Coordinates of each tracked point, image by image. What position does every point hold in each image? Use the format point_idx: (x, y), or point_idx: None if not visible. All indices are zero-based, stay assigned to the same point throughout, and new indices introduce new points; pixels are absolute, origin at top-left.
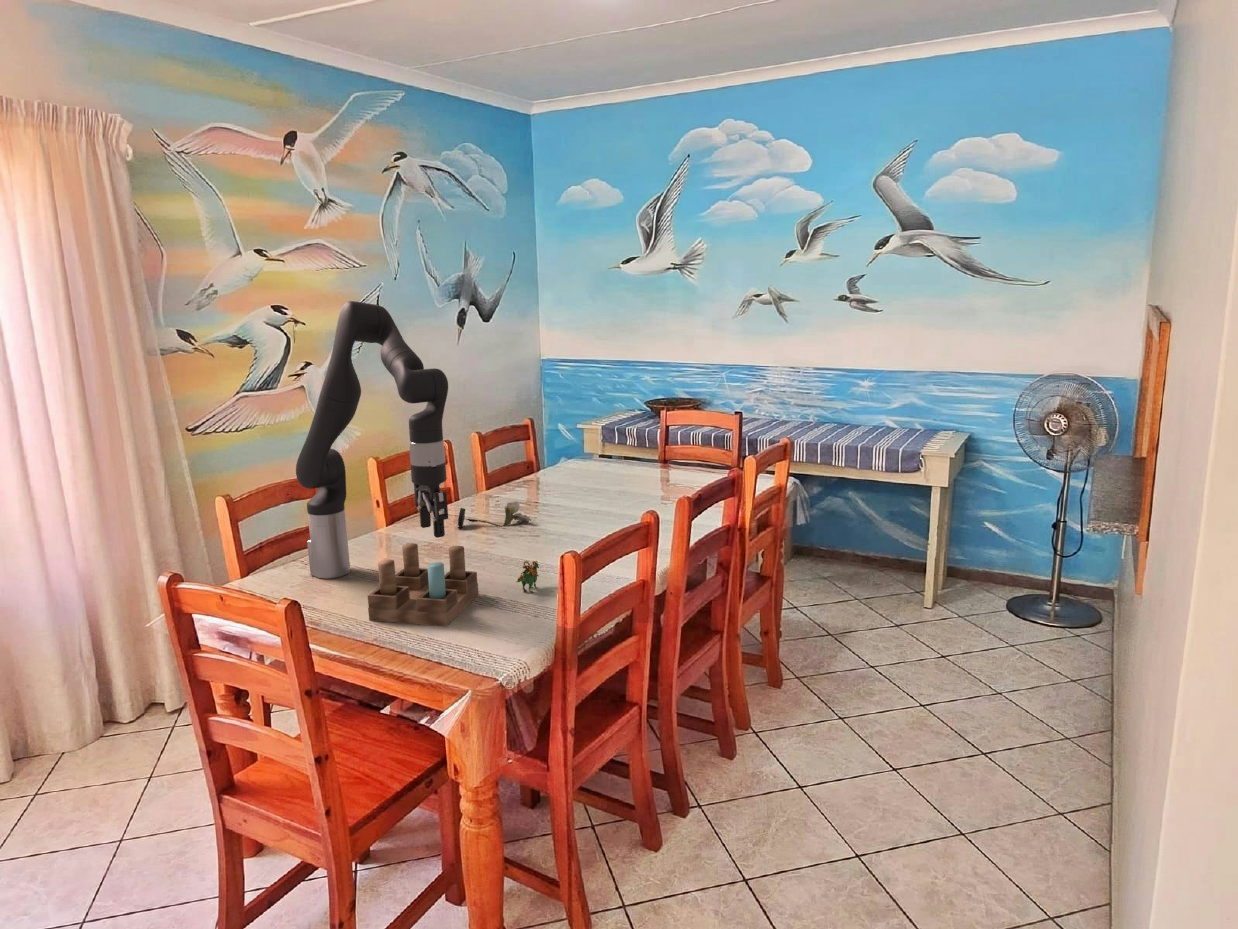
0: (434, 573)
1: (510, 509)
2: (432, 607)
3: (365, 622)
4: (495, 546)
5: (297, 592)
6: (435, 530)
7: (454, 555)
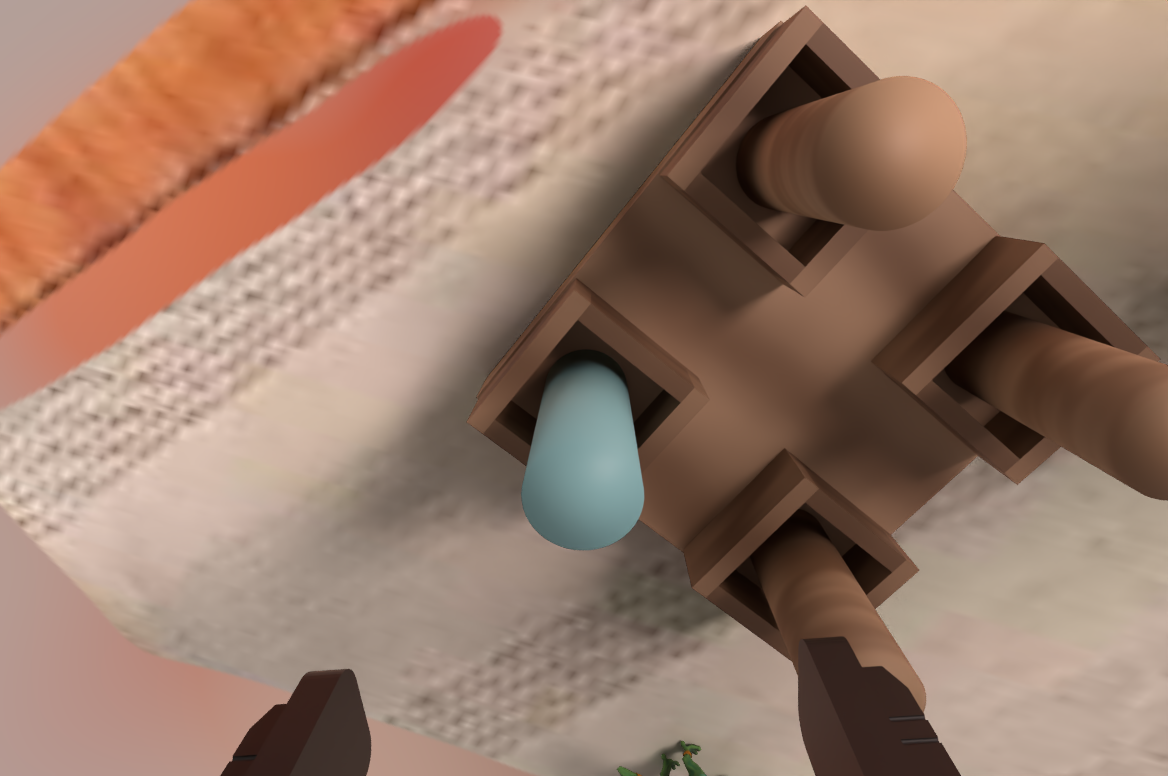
0: (530, 453)
1: None
2: (519, 351)
3: (746, 11)
4: None
5: None
6: (272, 745)
7: None
